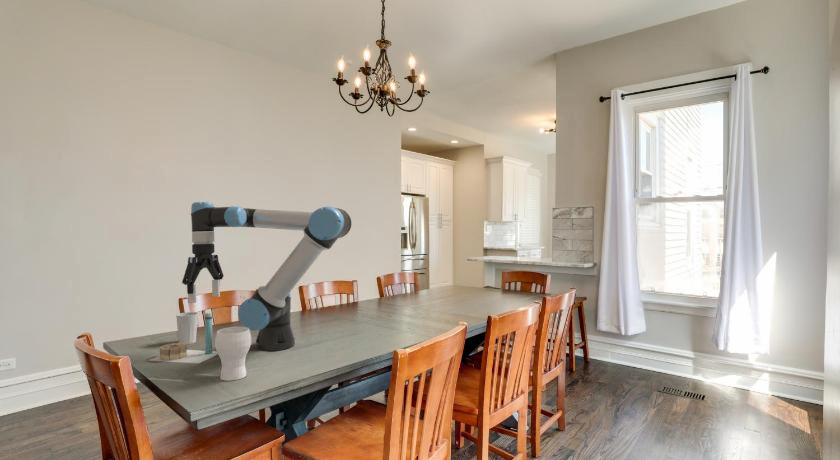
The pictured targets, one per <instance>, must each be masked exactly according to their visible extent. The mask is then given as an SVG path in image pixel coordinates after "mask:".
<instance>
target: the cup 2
mask: <svg viewBox="0 0 840 460" xmlns="http://www.w3.org/2000/svg"><path fill="white" fill-rule="evenodd" d="M251 334H252V333H251V330H249V328H247V327H244V326H230V327H225V328H220V329H218V330H217V331H216V335H215V339H214V340H215V341H214V342H215V343H214V347H215V350H216V351H217V353H218V355H217V356H218V357H219V358H220V362H221V371H220V378H219V379H220V380H222V381H225V382H227V381H230V382H231V381H237V380H240V379H243V378H245V377H247V368H246V358H247V355H248V352H249V350H250V348H251V346H252V335H251Z"/></svg>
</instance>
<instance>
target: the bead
mask: <svg viewBox="0 0 840 460" xmlns="http://www.w3.org/2000/svg"><path fill="white" fill-rule="evenodd" d="M187 345H188V344H185V343H179V342H173V343H167V344H164V345H162V346H159V356H160V360H165V361H169V360H170V361H171V360H177V359H181V358H184V357H186V356H187V350H188V347H187Z"/></svg>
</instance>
